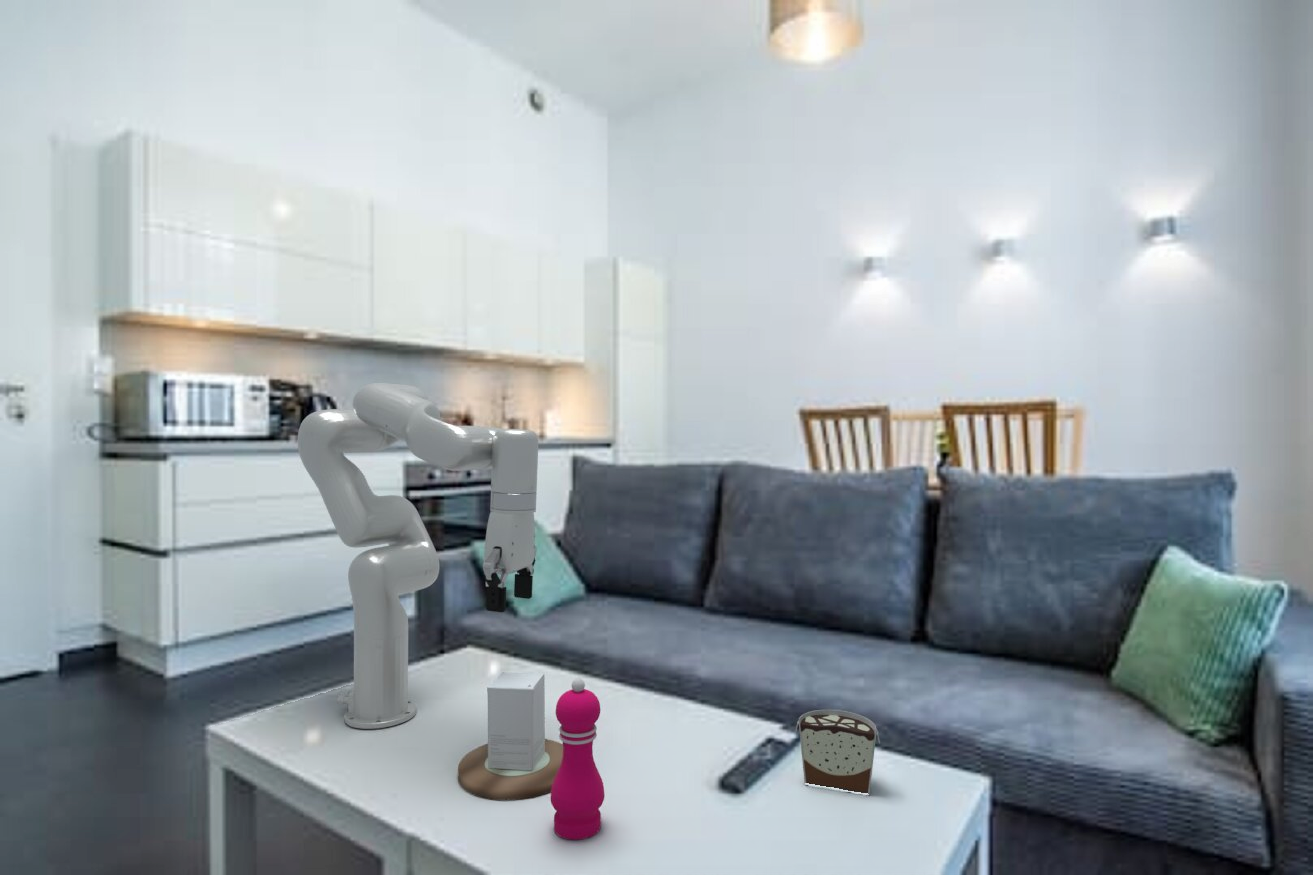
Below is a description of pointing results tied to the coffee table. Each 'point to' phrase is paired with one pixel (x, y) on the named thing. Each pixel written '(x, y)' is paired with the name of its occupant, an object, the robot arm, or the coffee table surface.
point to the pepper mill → (577, 766)
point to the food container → (837, 749)
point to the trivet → (509, 775)
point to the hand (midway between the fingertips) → (509, 604)
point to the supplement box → (516, 721)
